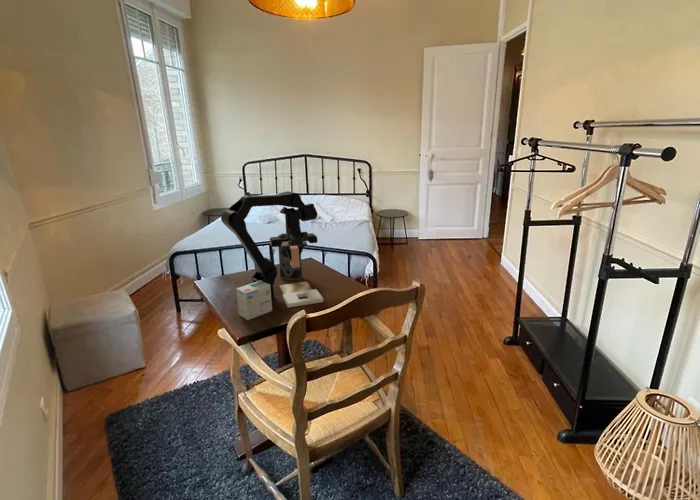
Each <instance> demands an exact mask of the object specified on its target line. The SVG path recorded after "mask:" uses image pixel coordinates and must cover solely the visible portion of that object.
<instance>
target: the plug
mask: <svg viewBox="0 0 700 500" xmlns="http://www.w3.org/2000/svg"><path fill="white" fill-rule="evenodd" d="M290 253H291V261H290V265H291V266H292V268H296V267H300V263H299V248H298V247H297V246H290Z"/></svg>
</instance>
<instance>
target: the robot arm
mask: <svg viewBox="0 0 700 500" xmlns="http://www.w3.org/2000/svg"><path fill="white" fill-rule="evenodd" d="M271 206H272V207H273V206H282V209H280V211H279V213H280V214H283V215H284V220H285V221H284V222H285V233H286V238H284V239H281V238H280V237H278V236H272V237H270V238H269V245H270V246H271V248H278V247H280V246H282V248H285V249H286V252H287V254H288V256H289V259H290V261H291V253H290V246H289V245H288V244H289V243H291V245H292V246H295V245H298V248H299V259H300V256H301V257H302V253H303V249H304V248H305V247H306V246H308V243H310V244H316V243H318V236H316V234H315V233H313V232H312V233H308V231H302V230H301V229H302V228H301V223H300V222H308V221H316V219H317V218H318V212H317V208H316V207H315V204H314V203H306V204H305V203H304V202H303V200H302V197H301V195H300V193H297V192H294V191H289V190H288V191H283V192H279V193H278V194H277V193H276V194H267V195H266V194H265V195H263V194H261V195H243V196H241V197H240V198H239V199H238V201H236V202H234V203H233V204H232V205H231V206H230V207H229V208H228V209H226V210H224V211H223V212H222V214H221V216H220V220H221V222H222V223H223V224H224V226H226V228H227V229H228V230H230V231H231V232H232V233H233V234H234V235H235V237H236V238H237V239H238V241H239V242H240V244H241V245H242V246H243V248H244V249H245V251H246V253H247V254H248V256H249V257H250V259H251V261H252V262H253V265H254V266H253V267H254V269H255V272H254V274H253V276H252V277H251V280H252V283H254V282H257V281H260V280H261V281H263V282H265V283H268V284H270V289H271V301H273V300H275V299H274V297H275V289H274V285H275V281H276V278H277V276H278V267H277V266H276V265H275V263H274V261H273V260H271V259H269V258H268V257H264V255H263V253H262V252H261V250H260V249H259V248H258V246H257V244H256V243H255V240H253V238H252V236H251V235H250V233H249V231H248V229H247V223H246V221H245V219H246V218H247V217H248V215H249V213H250V211H251V209H252V208H253V207H255V208H256V207H271ZM295 208H296V209H295ZM307 242H308V243H307Z"/></svg>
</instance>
